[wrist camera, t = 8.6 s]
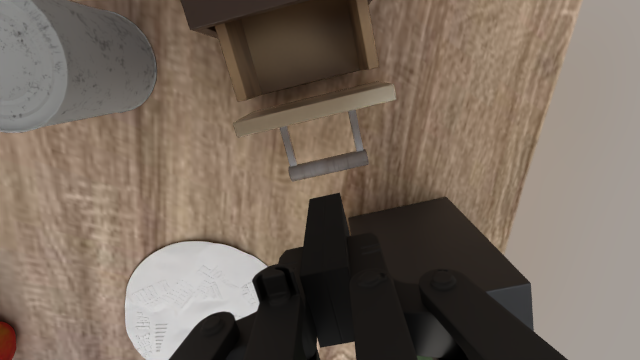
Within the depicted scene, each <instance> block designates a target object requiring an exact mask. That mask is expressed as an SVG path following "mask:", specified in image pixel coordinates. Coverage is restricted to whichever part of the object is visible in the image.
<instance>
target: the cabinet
mask: <svg viewBox="0 0 640 360" xmlns="http://www.w3.org/2000/svg"><path fill="white" fill-rule="evenodd" d="M306 1H309V0H181V3H182V6H183V9H184V12H185V15H186V18H187V22H188V25H189V28H190V30H193V31H196V32H199V33H202V34H206V35H209V36H212V37H215V38H218V35H217V32H216V29H215V26H216V25H220V24H224V23H228V22H231V21H235V20H239V19H242V18H246V17H250V16H254V15H257V14H261V13H265V12H268V11H272V10H276V9H280V8H283V7H287V6H291V5H294V4H298V3H302V2H306ZM371 1H372V0H368V5H369V4H370V2H371Z"/></svg>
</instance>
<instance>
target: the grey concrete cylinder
mask: <svg viewBox="0 0 640 360" xmlns="http://www.w3.org/2000/svg"><path fill="white" fill-rule="evenodd" d="M156 76H157V65H156V58H155V55H154V52H153V49H152V47H151V45H150V43H149V41H148V40H147V38H146V36H145V35H144V34H143V32H142V31H141V30H140V29H139V28H138V27H137V26H136V25H135V24H134V23H132V22H131V21H130V20H128V19H127V18H125V17H123V16H121V15H119V14H117V13H115V12H111V11H107V10H100V9H97V8H93V7H89V6H86V5H82V4H79V3H75V2H71V1H68V0H0V132H5V133H22V132H26V131H30V130H35V129H38V128H40V127H45V126H50V125H56V124H61V123H66V122H71V121H76V120H81V119H86V118H91V117H96V116H101V115H107V114H112V113H122V112H126V111H130V110H133V109H135V108H137V107H138V106H140V105H141V104H143V103H144V102H145V101H146V100H147V99H148V97H149V96H150V94H151V92H152V91H153V89H154V85H155V82H156Z"/></svg>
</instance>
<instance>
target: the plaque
mask: <svg viewBox="0 0 640 360" xmlns="http://www.w3.org/2000/svg"><path fill="white" fill-rule="evenodd" d="M265 268H267V266H266V265H265V264H264V263H263V262H261V261H260V260H259V259H257V258H256V257H254V256H252V255H249V254H247V253H244V252H242V251H240V250H238V249H236V248H234V247H231V246H227V245H224V244H217V243H211V242H202V241H188V242H180V243H175V244H172V245H169V246H166V247H164V248H162V249H160V250H158V251H156V252H154V253H153V254H151V255H150V256H148V257H147V258H146V259H145V260H144V261H143V262H142V263H141V264H140V265H139V266H138V267H137V268H136V270H135V271H134V273H133V274H132V276H131V278H130V280H129V283H128V285H127V290H126V301H125V323H126V330H127V333H128V336H129V338H130V340H131V341H132V343H133V345H134V347H135V348H136V350H137V351H138V352H139V353H140V354H141V355H142V356H143V357H144V358H145V359H146V360H169V358H170V357H171V356H172V355H173V353H174V352H175V351H176V350H177V348H178V347H179V346H180V345H181V343H182V342H183V341H184V339H185V338H186V337H187V336H188V334H189V333H190V332H191V331H192V329H193V328H194V327H195V326H196V325H197V324H198V323H199V322H200V321H201V320H203V319H204V318H206V317H207V316H209V315H211V314H214V313H217V312H223V311H225V312H230V313H232V314H233V315H234V317H235V320H238V319H241V318H243V317H246V316H248V315H250V314H252V313H254V312H256V311H257V310H258V306H259V303H260V302H259V300H258V297H257V294H256V291H255V288H254V285H253V282H252V279H253V278H254V276H255V275H256V274H257V273H258V272H260V271H261V270H263V269H265Z"/></svg>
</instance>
